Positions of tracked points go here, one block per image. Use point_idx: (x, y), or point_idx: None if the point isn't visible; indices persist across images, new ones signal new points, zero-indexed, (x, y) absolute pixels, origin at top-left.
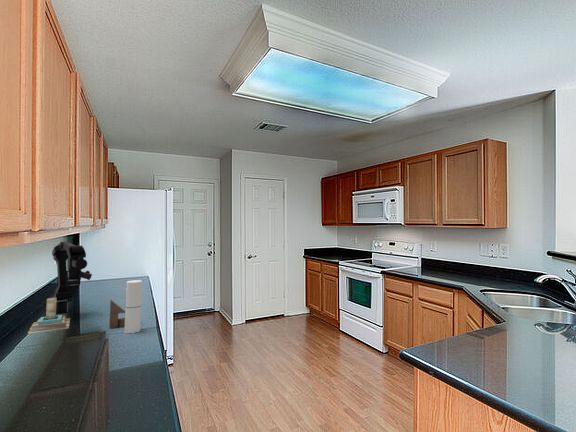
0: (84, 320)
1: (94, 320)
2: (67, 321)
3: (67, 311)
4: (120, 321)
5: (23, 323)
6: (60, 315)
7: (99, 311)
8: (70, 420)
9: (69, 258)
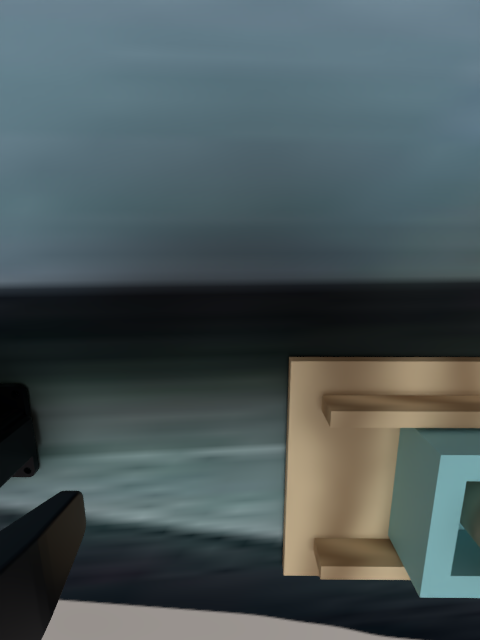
0: (385, 247)
1: (442, 160)
2: (397, 377)
3: (2, 390)
4: None
5: (230, 611)
6: (458, 466)
7: (78, 100)
8: None
9: None
